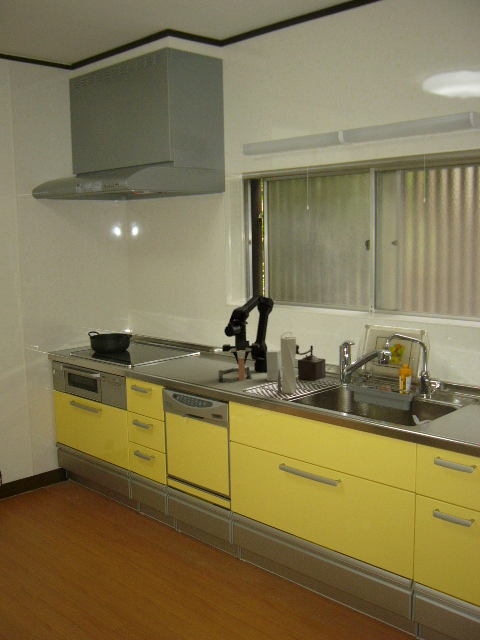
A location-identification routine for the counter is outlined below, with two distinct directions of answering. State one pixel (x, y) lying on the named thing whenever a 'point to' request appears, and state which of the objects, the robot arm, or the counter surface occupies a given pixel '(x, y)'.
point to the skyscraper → (287, 365)
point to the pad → (228, 380)
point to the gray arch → (222, 372)
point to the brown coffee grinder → (310, 366)
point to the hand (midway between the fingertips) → (241, 364)
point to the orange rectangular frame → (241, 369)
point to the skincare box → (273, 364)
